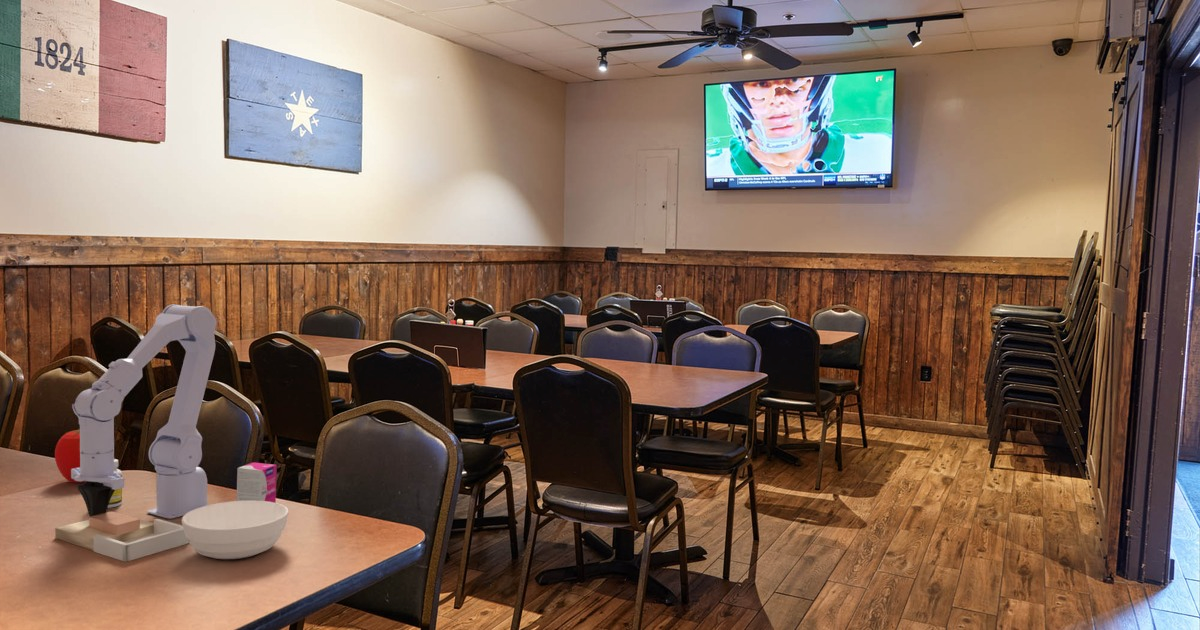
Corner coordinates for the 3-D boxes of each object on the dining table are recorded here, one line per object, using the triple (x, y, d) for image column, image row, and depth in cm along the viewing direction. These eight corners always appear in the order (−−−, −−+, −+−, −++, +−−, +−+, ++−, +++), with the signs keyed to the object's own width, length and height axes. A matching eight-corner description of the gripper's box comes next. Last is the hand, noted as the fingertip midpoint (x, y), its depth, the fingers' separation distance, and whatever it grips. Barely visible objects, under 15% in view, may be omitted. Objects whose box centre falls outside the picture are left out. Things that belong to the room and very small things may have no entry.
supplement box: (261, 525, 178) (261, 470, 177) (235, 522, 179) (235, 467, 178) (276, 517, 183) (277, 463, 183) (251, 514, 185) (251, 461, 184)
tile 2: (125, 525, 169) (125, 515, 169) (139, 529, 167) (139, 519, 166) (102, 531, 165) (102, 520, 165) (117, 535, 163) (116, 525, 162)
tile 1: (112, 521, 171) (112, 511, 171) (125, 525, 169) (125, 515, 169) (89, 527, 167) (89, 516, 167) (103, 531, 165) (102, 520, 165)
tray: (157, 533, 170) (157, 518, 170) (189, 542, 166) (189, 527, 166) (93, 551, 160) (93, 535, 159) (125, 561, 155) (125, 545, 155)
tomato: (77, 474, 213) (76, 422, 212) (118, 477, 212) (118, 425, 211) (43, 486, 201) (42, 431, 201) (86, 489, 200) (86, 434, 199)
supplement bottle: (127, 504, 189) (126, 460, 188) (101, 510, 184) (101, 465, 184) (113, 500, 192) (113, 456, 191) (88, 506, 187) (88, 461, 187)
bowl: (308, 544, 167) (308, 507, 167) (240, 575, 150) (240, 534, 150) (232, 531, 173) (232, 496, 173) (158, 560, 156) (158, 521, 156)
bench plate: (116, 522, 177) (116, 512, 176) (156, 534, 170) (156, 524, 170) (55, 538, 166) (55, 527, 166) (95, 551, 160) (95, 540, 160)
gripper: (54, 449, 169) (55, 518, 170) (98, 460, 161) (98, 531, 162) (91, 443, 175) (91, 509, 176) (134, 453, 168) (135, 522, 168)
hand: (97, 519), depth 169 cm, fingers closed
